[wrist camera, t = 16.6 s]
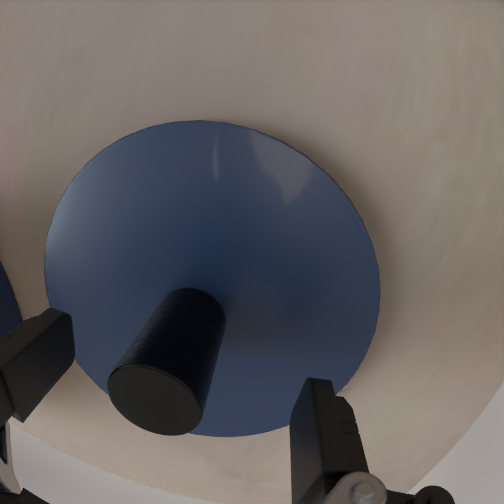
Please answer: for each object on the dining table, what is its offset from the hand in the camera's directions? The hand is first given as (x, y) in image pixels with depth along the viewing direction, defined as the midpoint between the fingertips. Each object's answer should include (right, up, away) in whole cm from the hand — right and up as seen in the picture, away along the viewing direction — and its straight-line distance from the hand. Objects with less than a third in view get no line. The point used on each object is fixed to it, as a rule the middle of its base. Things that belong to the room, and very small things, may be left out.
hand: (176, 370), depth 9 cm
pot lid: (0, +1, +4) cm, 4 cm away
